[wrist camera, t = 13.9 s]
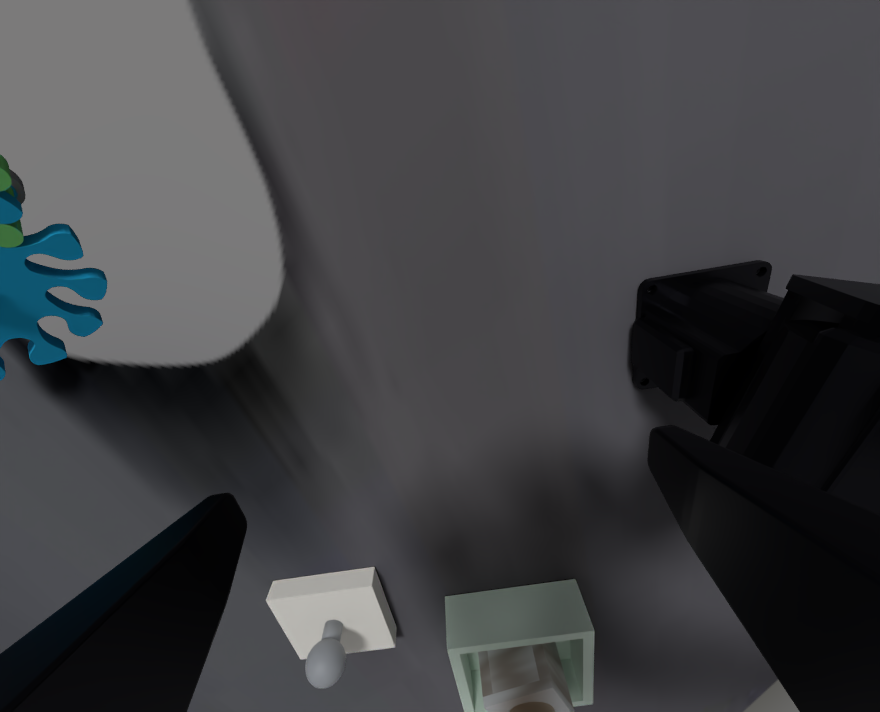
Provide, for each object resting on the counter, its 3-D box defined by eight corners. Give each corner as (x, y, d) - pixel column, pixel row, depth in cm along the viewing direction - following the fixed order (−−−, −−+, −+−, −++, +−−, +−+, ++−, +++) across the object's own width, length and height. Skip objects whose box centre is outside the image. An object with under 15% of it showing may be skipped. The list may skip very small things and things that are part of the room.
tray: (575, 578, 30) (594, 630, 27) (576, 652, 34) (592, 704, 31) (444, 596, 30) (446, 649, 27) (462, 666, 35) (466, 719, 31)
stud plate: (374, 566, 29) (363, 646, 24) (396, 627, 32) (391, 708, 27) (273, 580, 29) (242, 662, 24) (305, 639, 32) (284, 721, 27)
